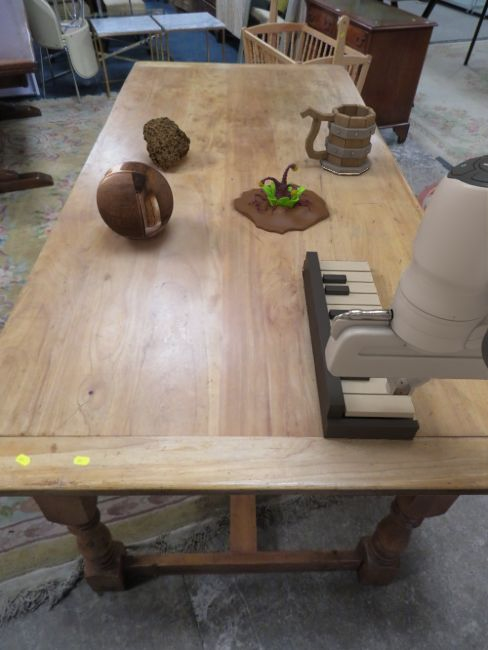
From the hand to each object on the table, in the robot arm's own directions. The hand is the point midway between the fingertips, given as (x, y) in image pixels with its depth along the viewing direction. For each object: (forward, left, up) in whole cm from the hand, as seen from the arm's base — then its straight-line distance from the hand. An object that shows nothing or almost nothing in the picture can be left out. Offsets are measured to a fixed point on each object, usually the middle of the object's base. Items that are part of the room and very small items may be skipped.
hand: (397, 391), depth 55 cm
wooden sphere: (+62, +6, -7) cm, 63 cm away
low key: (+25, -17, -4) cm, 31 cm away
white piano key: (+1, +1, -4) cm, 5 cm away
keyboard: (+14, -7, -7) cm, 17 cm away
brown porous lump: (+90, -16, -7) cm, 91 cm away
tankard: (+63, -51, -7) cm, 81 cm away
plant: (+51, -24, -7) cm, 57 cm away
